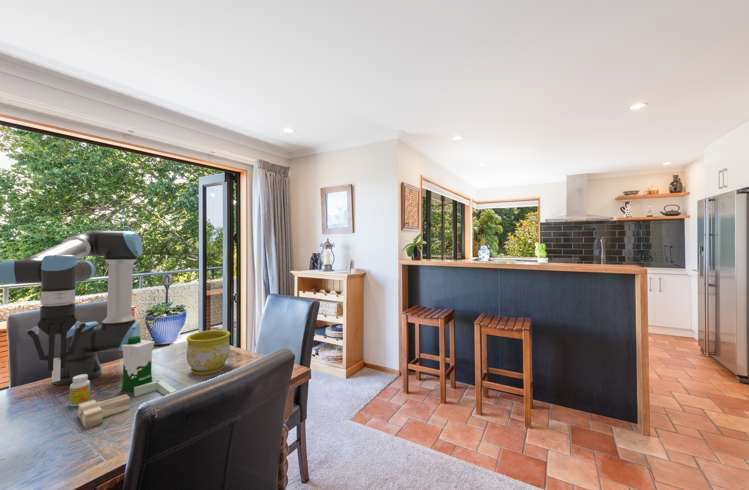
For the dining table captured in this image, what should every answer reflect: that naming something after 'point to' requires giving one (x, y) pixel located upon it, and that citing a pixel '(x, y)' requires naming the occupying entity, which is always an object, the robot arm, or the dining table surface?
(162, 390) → the corner stop
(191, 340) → the flowerpot
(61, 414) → the dining table surface
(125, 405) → the t block
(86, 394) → the supplement bottle
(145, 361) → the milk carton
